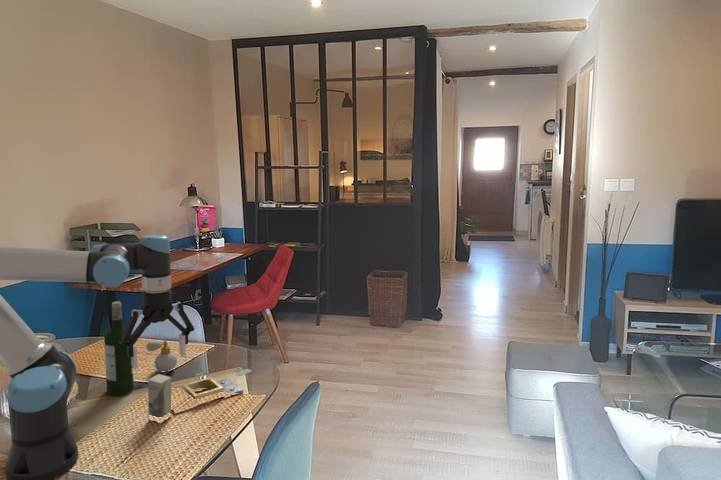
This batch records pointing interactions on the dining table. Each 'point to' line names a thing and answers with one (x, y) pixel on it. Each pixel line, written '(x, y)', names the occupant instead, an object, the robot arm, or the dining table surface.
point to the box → (159, 395)
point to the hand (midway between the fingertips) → (159, 361)
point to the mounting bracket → (242, 371)
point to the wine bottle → (117, 357)
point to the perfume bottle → (162, 356)
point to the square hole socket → (211, 387)
